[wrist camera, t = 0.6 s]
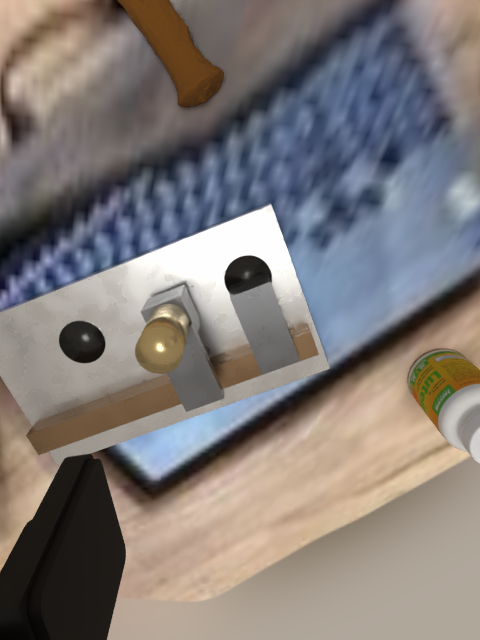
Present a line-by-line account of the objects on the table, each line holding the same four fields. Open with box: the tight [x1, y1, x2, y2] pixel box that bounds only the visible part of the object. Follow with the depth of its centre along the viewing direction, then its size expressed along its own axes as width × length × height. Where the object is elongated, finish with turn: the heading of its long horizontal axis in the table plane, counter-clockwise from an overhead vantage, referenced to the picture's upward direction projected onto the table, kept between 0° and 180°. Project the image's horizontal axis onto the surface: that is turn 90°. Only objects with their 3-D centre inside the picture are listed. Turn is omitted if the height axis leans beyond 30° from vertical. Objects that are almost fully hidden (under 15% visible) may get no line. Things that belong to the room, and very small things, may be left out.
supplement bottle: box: [408, 349, 480, 463], centre depth 35 cm, size 5×5×10 cm
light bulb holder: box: [135, 285, 225, 412], centre depth 32 cm, size 3×8×8 cm, turn 21°
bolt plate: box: [0, 202, 330, 465], centre depth 36 cm, size 25×14×4 cm, turn 111°
